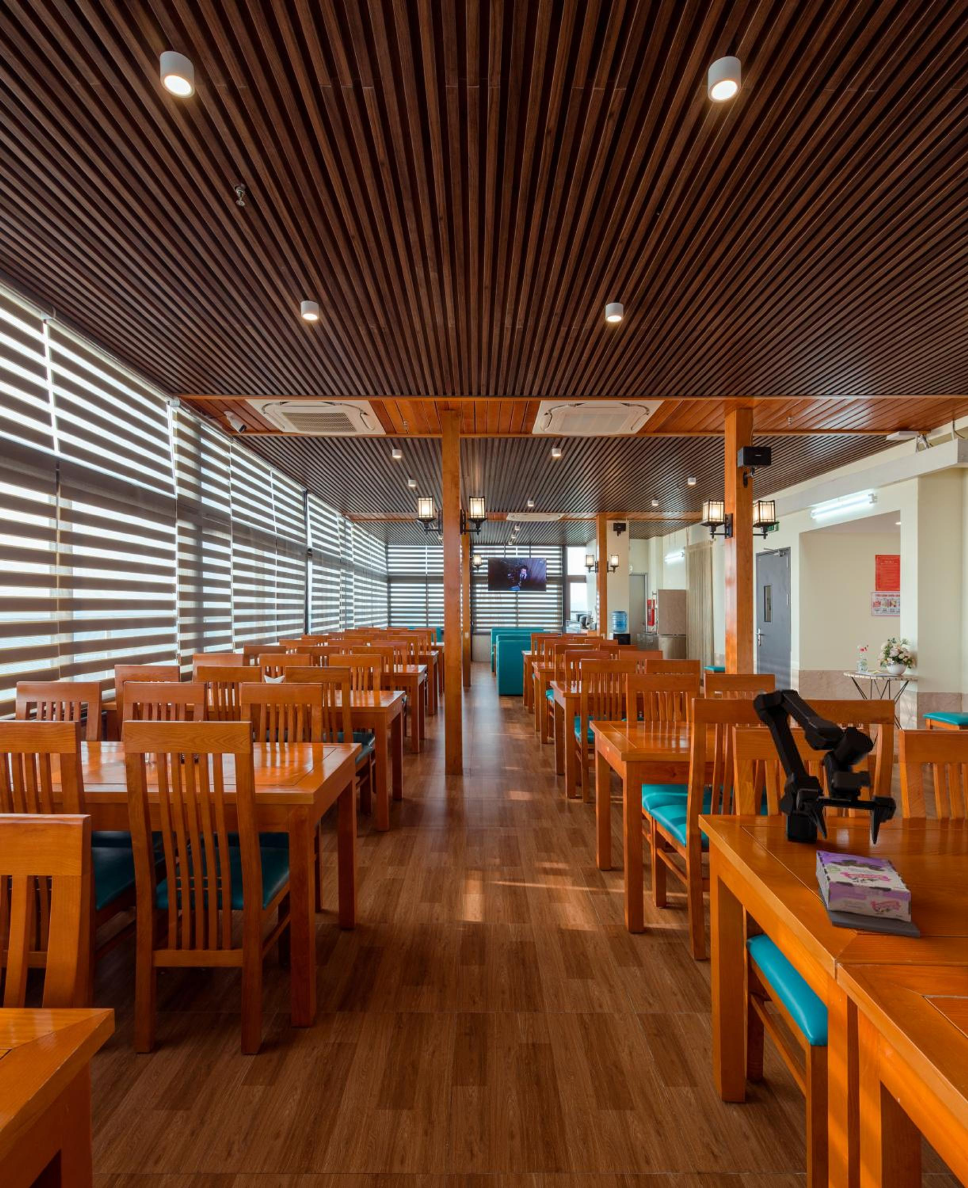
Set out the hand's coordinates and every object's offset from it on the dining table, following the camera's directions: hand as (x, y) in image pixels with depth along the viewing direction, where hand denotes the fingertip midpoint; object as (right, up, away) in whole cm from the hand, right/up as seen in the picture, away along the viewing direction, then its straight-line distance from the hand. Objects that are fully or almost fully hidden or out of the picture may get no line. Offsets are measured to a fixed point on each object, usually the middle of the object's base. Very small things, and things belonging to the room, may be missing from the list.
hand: (850, 840), depth 141 cm
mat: (-4, -9, -13) cm, 16 cm away
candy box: (0, -5, -1) cm, 5 cm away
